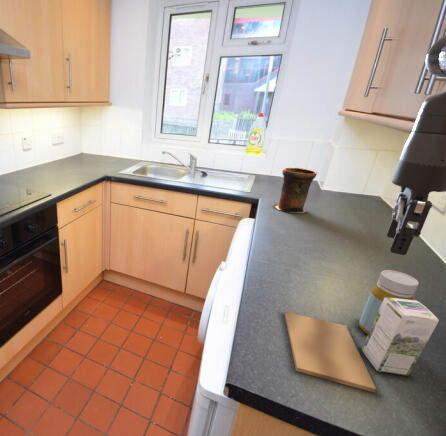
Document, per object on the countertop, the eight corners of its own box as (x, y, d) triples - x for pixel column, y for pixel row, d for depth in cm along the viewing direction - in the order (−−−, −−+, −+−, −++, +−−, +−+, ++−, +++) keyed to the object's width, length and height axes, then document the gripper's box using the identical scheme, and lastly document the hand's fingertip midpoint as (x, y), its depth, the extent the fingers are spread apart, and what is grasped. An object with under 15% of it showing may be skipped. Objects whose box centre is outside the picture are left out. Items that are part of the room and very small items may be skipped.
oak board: (344, 328, 71) (346, 325, 70) (374, 393, 55) (376, 389, 55) (284, 315, 75) (285, 311, 74) (296, 371, 59) (297, 367, 59)
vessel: (297, 204, 157) (306, 167, 150) (312, 214, 144) (323, 173, 136) (269, 204, 157) (277, 166, 150) (282, 213, 144) (292, 173, 137)
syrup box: (390, 354, 64) (416, 298, 58) (409, 377, 58) (440, 318, 53) (360, 350, 65) (383, 294, 59) (377, 373, 59) (404, 314, 54)
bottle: (399, 347, 66) (426, 290, 60) (360, 335, 69) (383, 280, 63) (391, 328, 71) (415, 274, 66) (355, 317, 74) (375, 266, 69)
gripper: (473, 170, 43) (428, 266, 49) (450, 157, 54) (416, 237, 60) (404, 163, 47) (371, 253, 53) (396, 152, 58) (369, 228, 64)
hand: (395, 245), depth 57 cm, fingers open, 8 cm apart
